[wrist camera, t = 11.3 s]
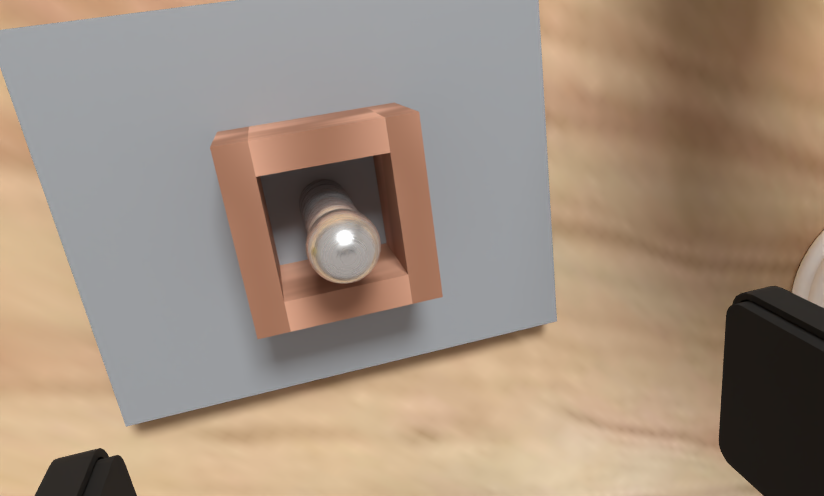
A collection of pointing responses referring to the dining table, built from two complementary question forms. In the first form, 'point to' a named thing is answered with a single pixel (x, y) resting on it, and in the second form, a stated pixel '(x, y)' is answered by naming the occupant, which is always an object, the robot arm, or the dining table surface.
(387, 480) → the dining table surface
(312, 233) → the hook post
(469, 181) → the hook board
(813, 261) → the coaster
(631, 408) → the dining table surface
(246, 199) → the wooden loop
